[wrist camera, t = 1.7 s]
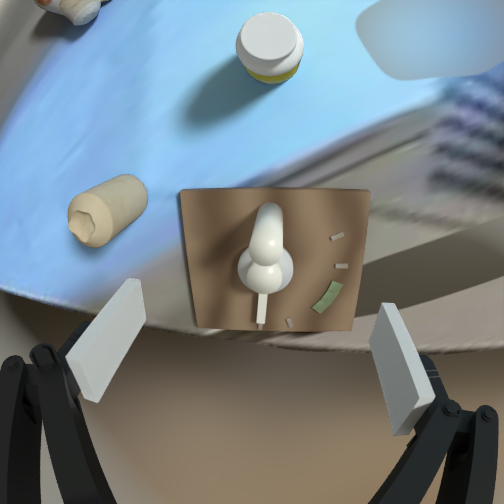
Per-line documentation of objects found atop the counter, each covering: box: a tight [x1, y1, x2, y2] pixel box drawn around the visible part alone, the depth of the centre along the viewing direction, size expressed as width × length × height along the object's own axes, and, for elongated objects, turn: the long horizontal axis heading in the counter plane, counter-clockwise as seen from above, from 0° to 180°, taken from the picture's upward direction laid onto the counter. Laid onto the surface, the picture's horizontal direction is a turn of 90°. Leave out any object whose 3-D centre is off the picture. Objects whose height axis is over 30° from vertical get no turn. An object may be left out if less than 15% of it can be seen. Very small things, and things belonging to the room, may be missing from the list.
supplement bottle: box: [236, 12, 304, 84], centre depth 22 cm, size 5×5×10 cm
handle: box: [238, 202, 293, 324], centre depth 30 cm, size 15×6×9 cm, turn 177°
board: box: [180, 187, 371, 331], centre depth 35 cm, size 20×18×1 cm
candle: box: [68, 174, 148, 248], centre depth 29 cm, size 6×6×10 cm
